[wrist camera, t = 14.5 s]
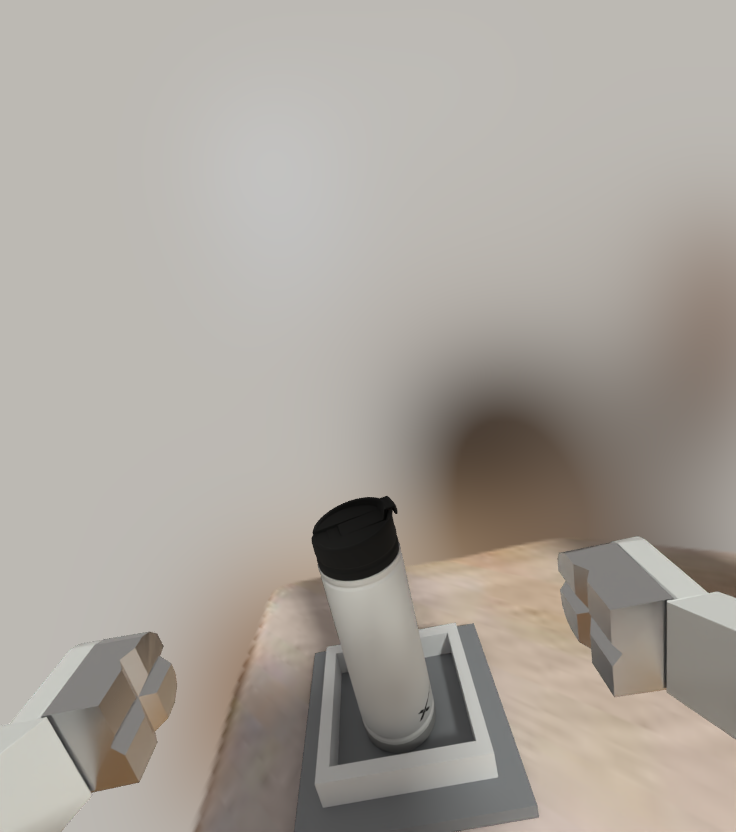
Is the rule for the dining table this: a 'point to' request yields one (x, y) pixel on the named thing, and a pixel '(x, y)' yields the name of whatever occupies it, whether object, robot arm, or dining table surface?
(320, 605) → the dining table surface
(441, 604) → the dining table surface
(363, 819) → the grey square tray
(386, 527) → the travel mug
